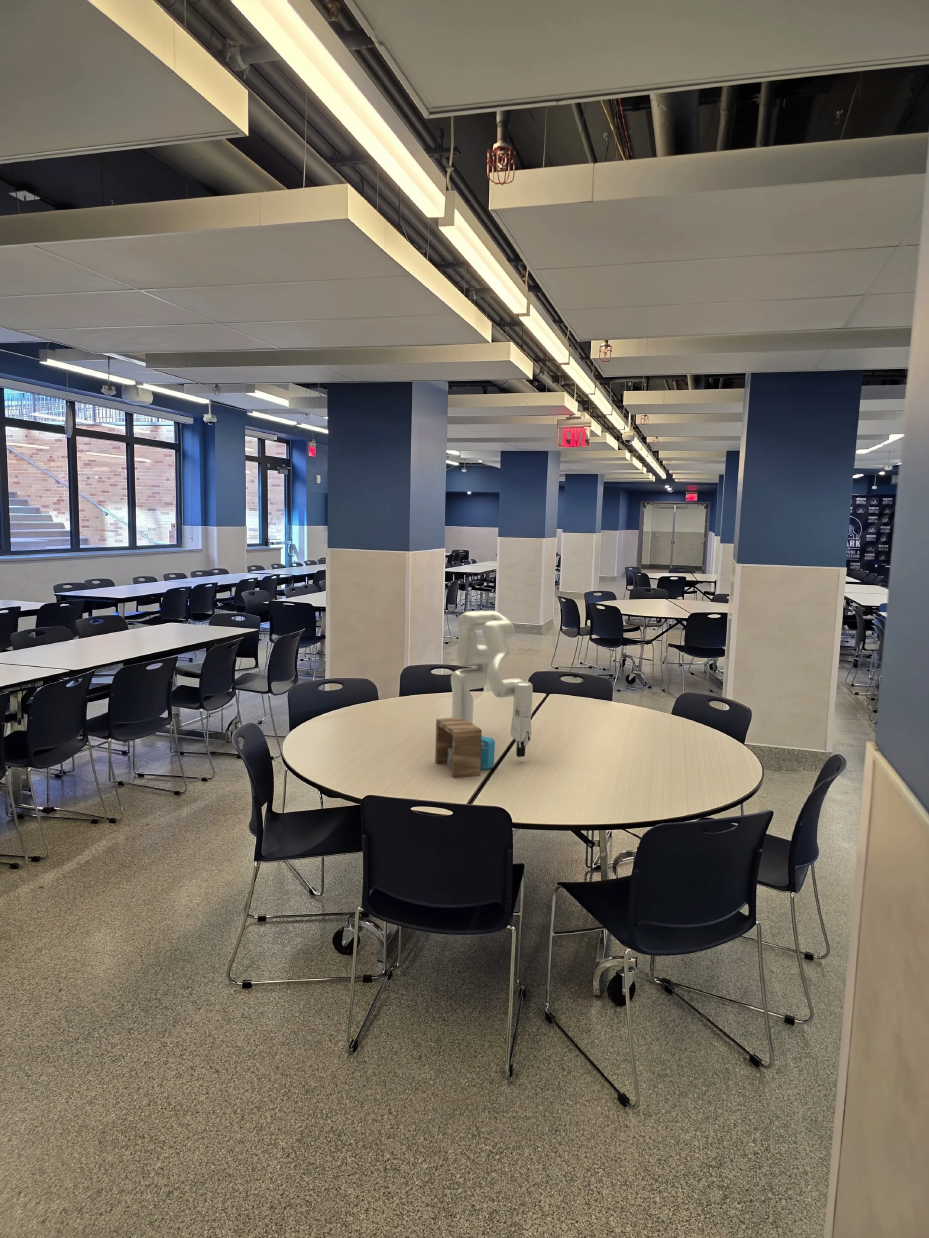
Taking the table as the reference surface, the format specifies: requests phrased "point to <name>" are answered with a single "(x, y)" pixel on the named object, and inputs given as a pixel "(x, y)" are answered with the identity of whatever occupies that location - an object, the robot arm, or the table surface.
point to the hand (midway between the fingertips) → (520, 756)
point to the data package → (487, 753)
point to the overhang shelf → (458, 746)
